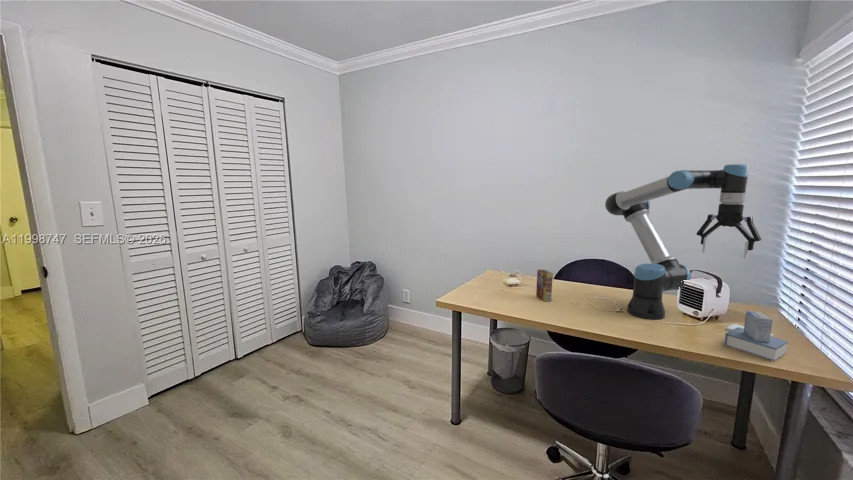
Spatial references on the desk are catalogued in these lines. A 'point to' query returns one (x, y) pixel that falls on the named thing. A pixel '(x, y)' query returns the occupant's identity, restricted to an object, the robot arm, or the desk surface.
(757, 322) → the medicine box
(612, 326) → the desk surface
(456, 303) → the desk surface
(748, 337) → the book
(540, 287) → the candy box
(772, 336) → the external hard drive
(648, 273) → the robot arm
